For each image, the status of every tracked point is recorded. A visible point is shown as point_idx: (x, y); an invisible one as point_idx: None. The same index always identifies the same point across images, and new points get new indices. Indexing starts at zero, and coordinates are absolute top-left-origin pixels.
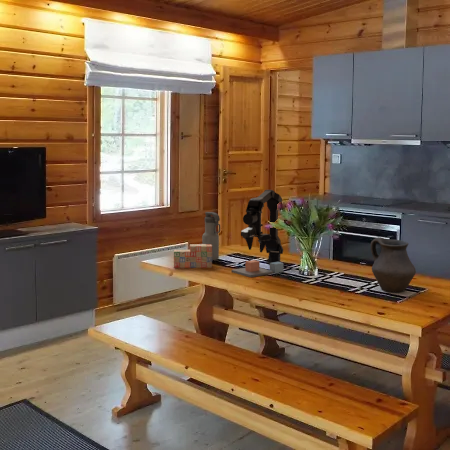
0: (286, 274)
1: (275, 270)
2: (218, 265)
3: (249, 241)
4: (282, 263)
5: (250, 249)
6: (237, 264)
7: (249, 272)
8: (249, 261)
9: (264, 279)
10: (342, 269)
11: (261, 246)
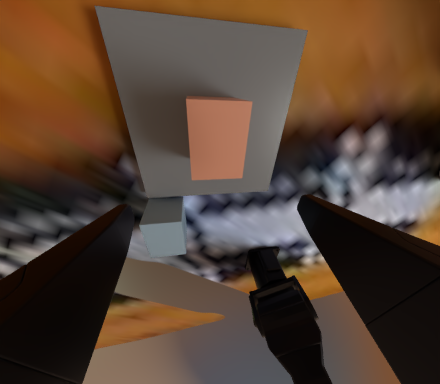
0: None
1: (146, 207)
2: (418, 103)
3: (393, 278)
4: (149, 253)
5: (299, 205)
6: (347, 178)
7: (179, 76)
8: (230, 125)
9: (3, 53)
10: (117, 320)
11: (21, 278)
